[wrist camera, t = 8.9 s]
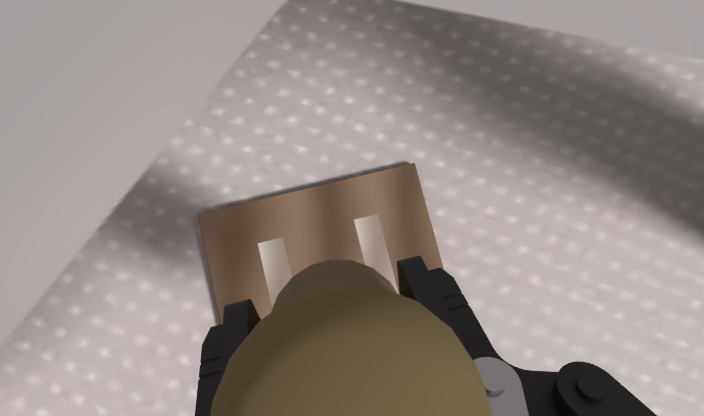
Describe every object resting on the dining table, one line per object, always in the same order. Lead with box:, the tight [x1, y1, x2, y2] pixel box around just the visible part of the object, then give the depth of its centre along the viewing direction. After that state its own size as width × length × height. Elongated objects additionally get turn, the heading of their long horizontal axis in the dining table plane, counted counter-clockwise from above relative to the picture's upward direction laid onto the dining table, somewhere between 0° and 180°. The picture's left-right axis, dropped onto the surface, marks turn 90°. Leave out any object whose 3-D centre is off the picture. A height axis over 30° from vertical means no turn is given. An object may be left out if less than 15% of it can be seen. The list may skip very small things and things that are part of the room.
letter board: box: [198, 163, 444, 325], centre depth 27 cm, size 16×16×1 cm
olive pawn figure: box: [210, 259, 493, 416], centre depth 11 cm, size 6×6×11 cm
